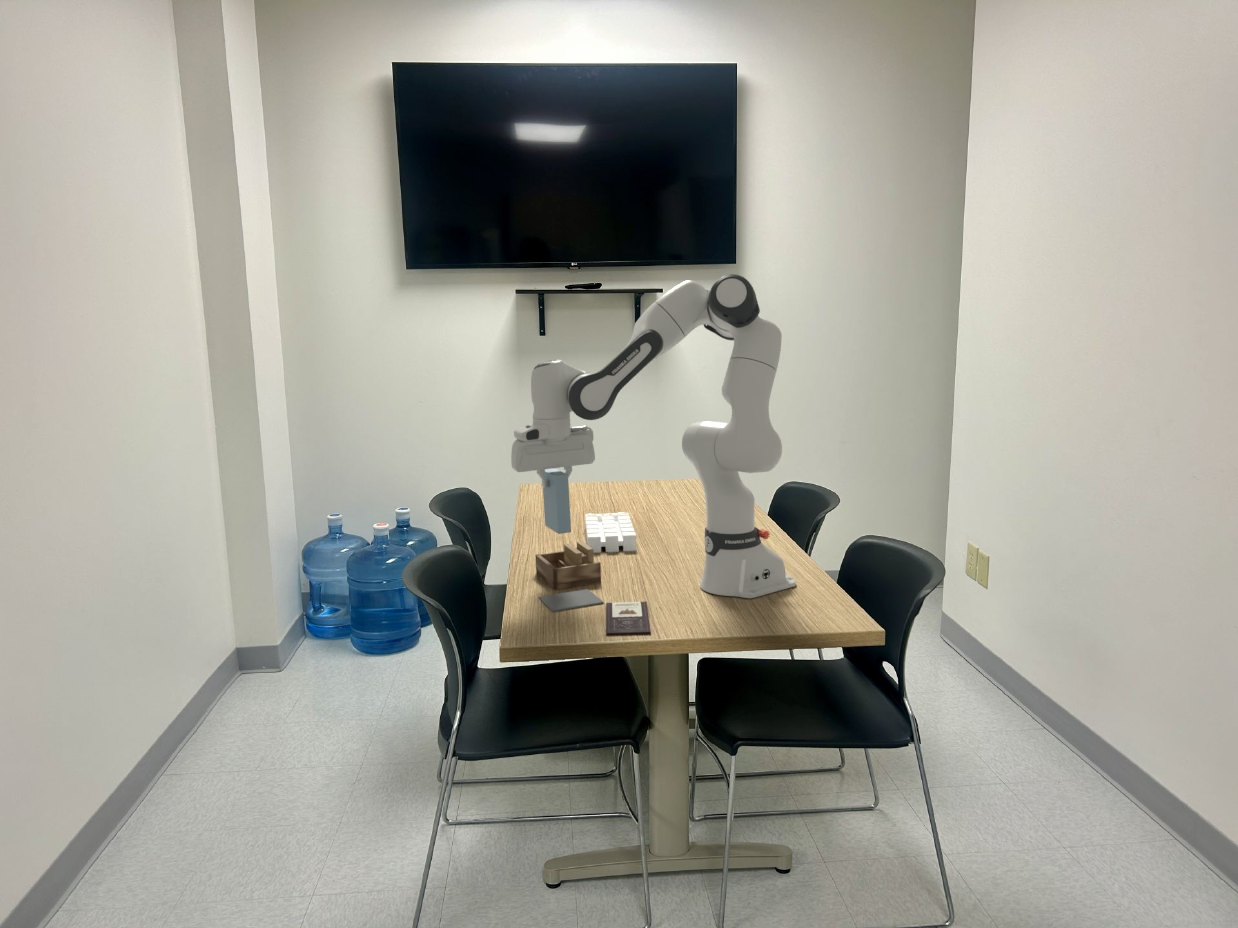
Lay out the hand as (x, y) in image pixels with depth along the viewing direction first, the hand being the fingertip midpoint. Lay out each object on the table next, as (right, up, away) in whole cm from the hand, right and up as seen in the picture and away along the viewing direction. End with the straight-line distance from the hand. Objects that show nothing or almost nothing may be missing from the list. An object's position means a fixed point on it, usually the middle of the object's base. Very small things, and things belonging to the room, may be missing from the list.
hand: (555, 485), depth 197 cm
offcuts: (+5, -21, +6) cm, 23 cm away
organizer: (+12, -16, +45) cm, 49 cm away
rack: (+3, -23, +5) cm, 24 cm away
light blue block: (0, -10, +2) cm, 11 cm away
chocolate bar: (+17, -28, -23) cm, 40 cm away
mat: (+4, -26, -11) cm, 28 cm away
